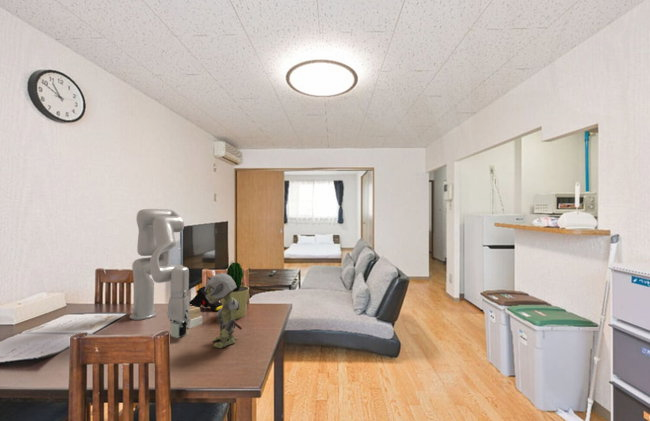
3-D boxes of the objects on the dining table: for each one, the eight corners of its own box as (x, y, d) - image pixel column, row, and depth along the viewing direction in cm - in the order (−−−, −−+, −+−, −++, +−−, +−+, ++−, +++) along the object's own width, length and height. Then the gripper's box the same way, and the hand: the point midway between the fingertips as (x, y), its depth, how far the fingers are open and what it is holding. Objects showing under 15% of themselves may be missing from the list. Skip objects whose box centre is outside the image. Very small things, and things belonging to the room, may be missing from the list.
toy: (203, 338, 137) (205, 271, 137) (241, 334, 142) (242, 269, 143) (203, 352, 122) (204, 277, 123) (244, 347, 128) (245, 275, 129)
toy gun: (207, 324, 177) (218, 308, 174) (188, 303, 181) (198, 287, 179) (213, 321, 181) (224, 305, 179) (194, 300, 186) (204, 285, 184)
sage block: (170, 336, 139) (171, 322, 139) (179, 332, 143) (180, 319, 143) (177, 338, 137) (177, 324, 137) (186, 334, 141) (186, 321, 141)
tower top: (182, 317, 153) (182, 308, 153) (192, 314, 158) (192, 305, 158) (189, 320, 150) (189, 310, 150) (200, 316, 155) (200, 307, 155)
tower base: (179, 326, 152) (179, 318, 152) (192, 321, 159) (192, 314, 159) (189, 328, 149) (189, 320, 149) (202, 324, 155) (202, 316, 156)
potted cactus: (252, 312, 175) (253, 259, 176) (242, 321, 160) (243, 263, 160) (227, 310, 177) (227, 259, 177) (214, 319, 161) (215, 262, 162)
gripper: (160, 293, 141) (159, 333, 141) (184, 298, 133) (183, 340, 133) (175, 290, 148) (174, 328, 147) (199, 294, 140) (198, 334, 139)
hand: (178, 333), depth 140 cm, fingers closed on sage block, 4 cm apart
